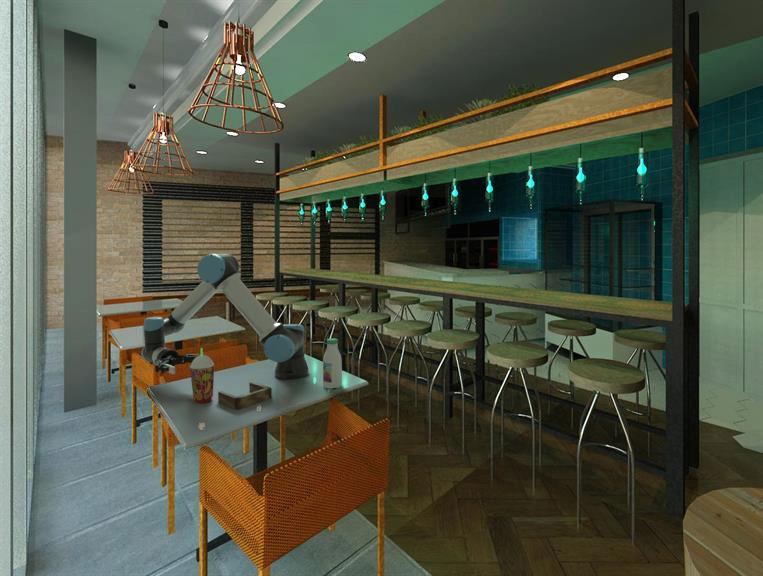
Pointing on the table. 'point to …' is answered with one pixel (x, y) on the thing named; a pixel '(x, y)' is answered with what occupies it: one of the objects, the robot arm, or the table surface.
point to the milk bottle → (332, 365)
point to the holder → (246, 396)
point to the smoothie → (202, 378)
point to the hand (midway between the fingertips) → (192, 366)
